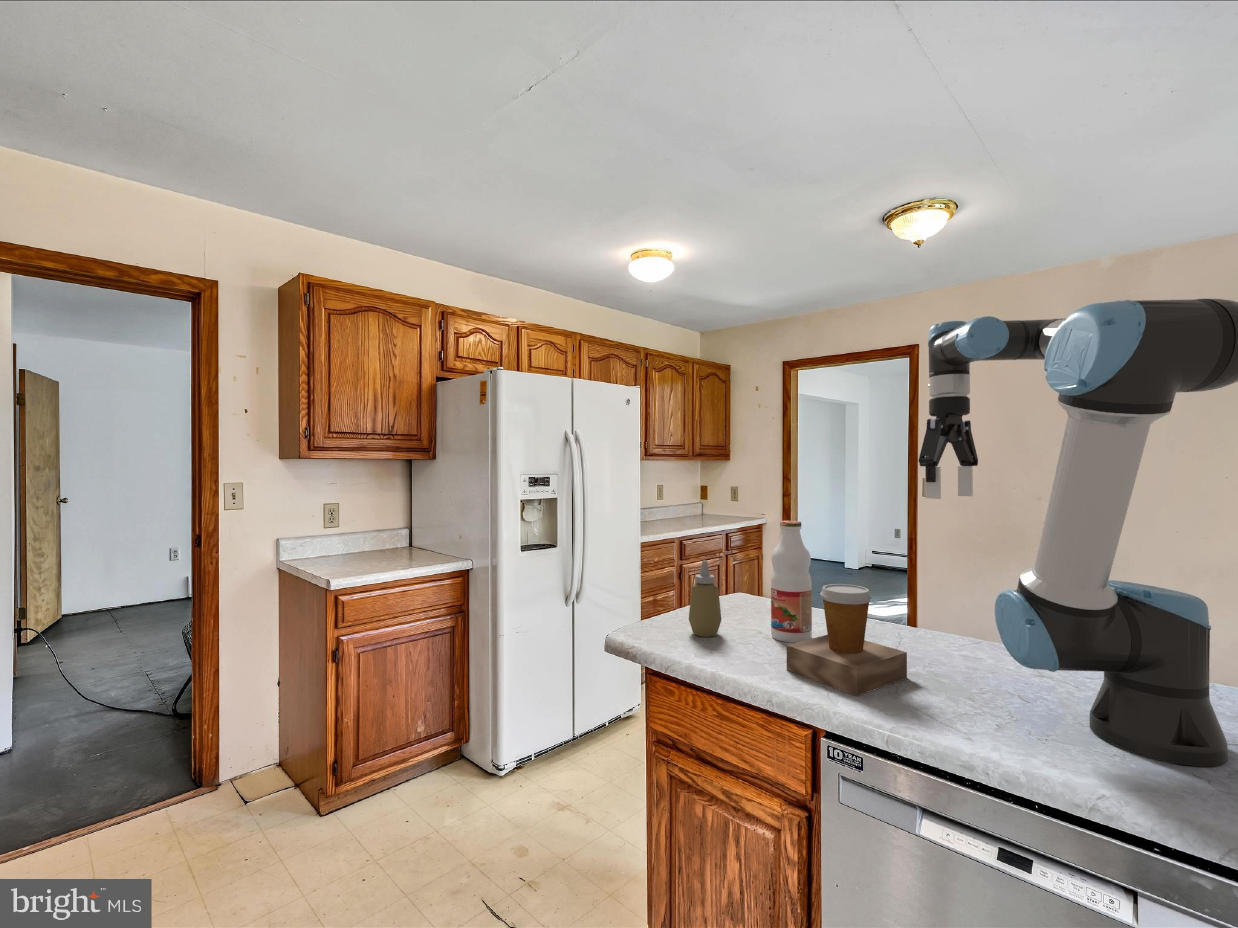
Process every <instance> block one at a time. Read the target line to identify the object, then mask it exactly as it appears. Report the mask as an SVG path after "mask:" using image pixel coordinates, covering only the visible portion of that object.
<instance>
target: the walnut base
mask: <svg viewBox="0 0 1238 928" xmlns="http://www.w3.org/2000/svg"><path fill="white" fill-rule="evenodd" d="M786 671H789V672H791V673H794V674H796V675H799V676H801V677H805V678H807V679H810V680H813V681H815V682H818V683H821V684H823V685H825V686H828V687H832V688H834V689H837V690H839V691H841V692H845V693H847V694H849V695H852V696H855V697H859V696H862V695H864V694H867V693H869V692H868V691H870V692H872V690H873V691H875V690H878V689H880V687H881V688H884V687H886V686H888V685H891V684H894V683H897V682H900V681H903V680H904V679H907V678H908V651H904V650H902V649H901V650H900V649H897V648H893V647H890V646H887V645H882V644H879V643H876V642H872V641H868V640H865V639H864V646H863V651H862V652H860V653H854V654H848V653H841V652H836V651H834V650H832V649H830V648H829V641H828V634H825V635H820V636H817V637H813V638H811V639H809V640H805V641H801V642H797V643H790V644H787V645H786ZM877 688H878V689H877ZM874 689H875V690H874ZM861 694H862V695H861Z"/></svg>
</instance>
